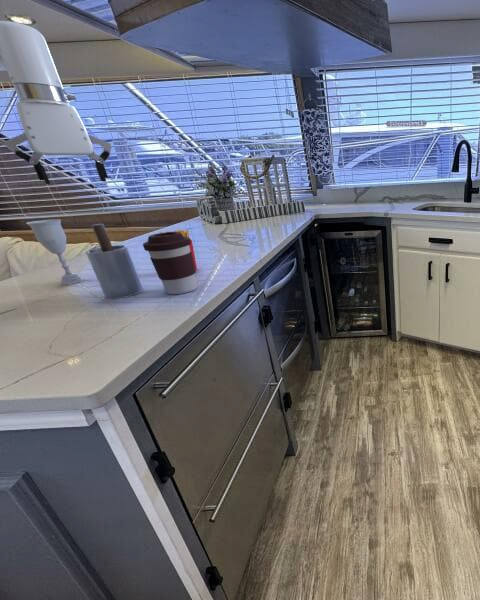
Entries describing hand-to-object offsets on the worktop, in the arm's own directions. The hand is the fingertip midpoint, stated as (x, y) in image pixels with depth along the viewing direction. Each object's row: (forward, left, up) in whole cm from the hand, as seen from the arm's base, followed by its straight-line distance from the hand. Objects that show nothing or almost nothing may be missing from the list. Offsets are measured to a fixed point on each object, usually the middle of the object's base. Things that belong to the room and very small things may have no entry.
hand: (77, 182), depth 75 cm
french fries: (+16, +7, -28) cm, 33 cm away
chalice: (-9, +25, -28) cm, 39 cm away
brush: (0, -1, -27) cm, 27 cm away
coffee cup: (+11, -12, -28) cm, 33 cm away
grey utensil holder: (0, -1, -28) cm, 28 cm away
